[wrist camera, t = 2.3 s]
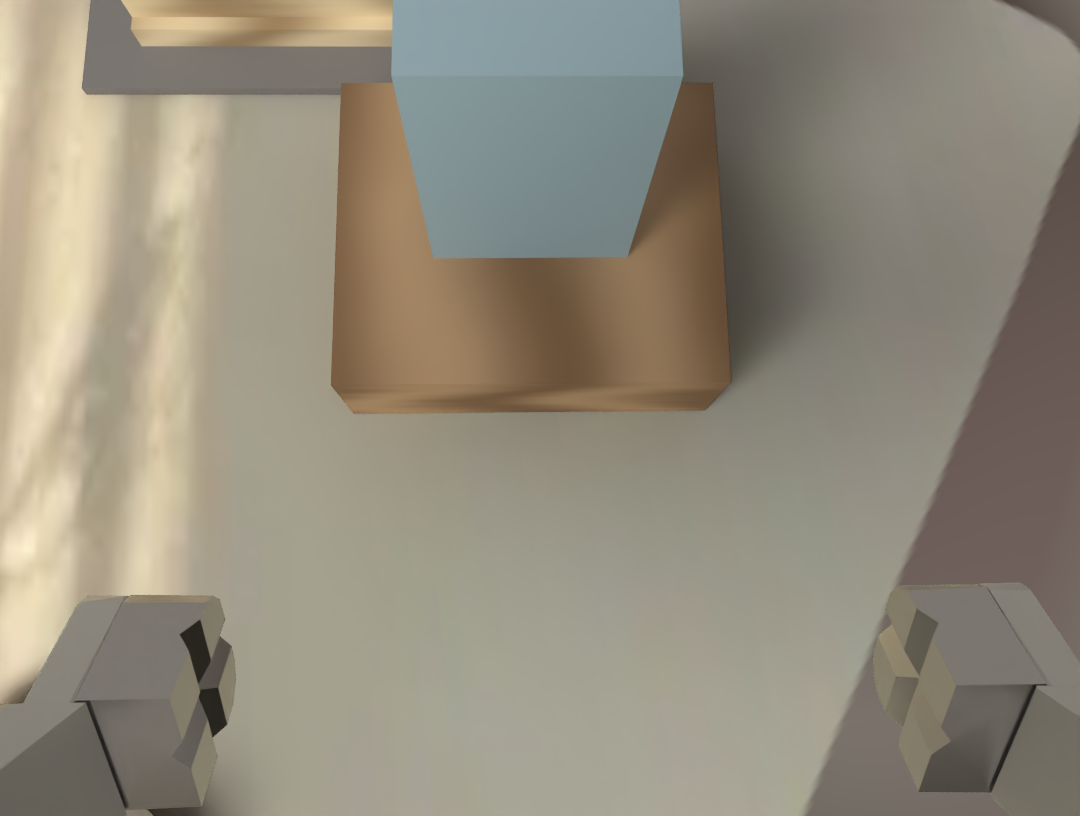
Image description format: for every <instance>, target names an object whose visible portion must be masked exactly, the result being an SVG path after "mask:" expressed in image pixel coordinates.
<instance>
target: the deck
mask: <svg viewBox="0 0 1080 816" xmlns="http://www.w3.org/2000/svg"><path fill="white" fill-rule="evenodd" d="M730 382H731V369H730V353H729V337H728V321H727V304H726V288H725V272H724V256H723V239H722V223H721V207H720V190H719V174H718V158H717V142H716V125H715V109H714V93H713V83H681V85H680V89H679V92H678V95H677V98H676V101H675V105H674V108H673V111H672V114H671V118H670V121H669V124H668V127H667V131H666V134H665V137H664V140H663V144H662V147H661V150H660V153H659V156H658V160H657V163H656V166H655V169H654V173H653V176H652V179H651V182H650V186H649V189H648V192H647V195H646V199H645V202H644V205H643V208H642V211H641V215H640V218H639V221H638V224H637V228H636V231H635V234H634V237H633V241H632V244H631V247H630V250H629V254H628V257H584V258H433V255H432V251H431V246H430V242H429V238H428V233H427V229H426V225H425V220H424V216H423V212H422V207H421V203H420V199H419V194H418V190H417V186H416V181H415V177H414V172H413V168H412V164H411V159H410V155H409V151H408V146H407V142H406V138H405V133H404V129H403V125H402V120H401V116H400V112H399V107H398V103H397V98H396V94H395V90H394V85H393V83H341V106H340V136H339V165H338V194H337V224H336V253H335V283H334V312H333V342H332V371H331V386H332V387H333V388H334V390H335V391H336V392H337V393H338V395H339V396H340V397H341V398H342V400H343V401H344V402H345V403H346V405H347V406H348V407H349V408H350V410H351V411H352V412H353V413H354V414H364V413H467V412H570V411H673V410H706V409H707V408H708V407H709V405H710V404H711V403H712V402H713V401H714V400H715V399H716V398H717V397H718V396H719V394H720V393H721V392H722V391H723V390H724V389H725V388H726V387H727V386H728V385H729V384H730Z"/></svg>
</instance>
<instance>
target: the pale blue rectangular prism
mask: <svg viewBox="0 0 1080 816" xmlns="http://www.w3.org/2000/svg"><path fill="white" fill-rule="evenodd" d="M391 77H392V81H393V85H394V90H395V94H396V98H397V103H398V107H399V112H400V116H401V120H402V125H403V129H404V133H405V138H406V142H407V146H408V151H409V155H410V159H411V164H412V168H413V172H414V177H415V181H416V186H417V190H418V194H419V199H420V203H421V207H422V212H423V216H424V220H425V225H426V229H427V233H428V238H429V242H430V246H431V251H432V255H433V258H584V257H628V254H629V250H630V247H631V244H632V241H633V237H634V234H635V231H636V228H637V224H638V221H639V218H640V215H641V211H642V208H643V205H644V202H645V199H646V195H647V192H648V189H649V186H650V182H651V179H652V176H653V173H654V169H655V166H656V163H657V160H658V156H659V153H660V150H661V147H662V144H663V140H664V137H665V134H666V131H667V127H668V124H669V121H670V118H671V114H672V111H673V108H674V105H675V101H676V98H677V95H678V92H679V89H680V85H681V82H682V79H683V59H682V40H681V21H680V3H679V0H393V17H392V65H391Z"/></svg>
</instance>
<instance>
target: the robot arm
mask: <svg viewBox="0 0 1080 816" xmlns="http://www.w3.org/2000/svg"><path fill="white" fill-rule="evenodd" d="M885 610H886V612H887V614H888V616H889V618H890V621H891V623H892V625H891V626H889V627H888V628H887V629H886V630H885V631H883V632H882V633H881V634H880V635H879V636H878V638H877V642H876V646H875V651H874V655H873V663H874V664H873V665H874V681H875V685H876V689H877V694H878V697H879V699H880V702H881V704H882V707H883V709H884V712H885V713H886V714H887V715H888V716H889V717H891V718H892V719H893V720H894V721H896V722H897V723H898V724H900V725H901V726H902V727H903V729H902V732H901V735H900V739H899V742H898V746H899V748H900V750H901V753H902V755H903V757H904V760H905V762H906V764H907V767H908V769H909V771H910V774H911V776H912V778H913V781H914V783H915V785H916V788H917V790H918V792H989V793H991V794H990V797H991V798H993V799H994V800H995V801H996V802H997V803H998V804H999V805H1000V806H1001V807H1002V808H1003V809H1004V810H1005V811H1006V812H1007V813H1008V814H1010V815H1011V816H1080V662H1079V661H1078V659H1077V658H1076V656H1075V655H1074V653H1073V652H1072V650H1071V649H1070V648H1069V646H1068V644H1067V643H1066V641H1065V640H1064V639H1063V637H1062V636H1061V634H1060V633H1059V631H1058V630H1057V628H1056V627H1055V625H1054V624H1053V622H1052V621H1051V619H1050V618H1049V617H1048V615H1047V614H1046V612H1045V611H1044V609H1043V608H1042V606H1041V605H1040V603H1039V602H1038V600H1037V599H1036V598H1035V596H1034V595H1033V593H1032V592H1031V590H1030V589H1029V588H1028V587H1026V586H1025V585H1023V584H1022V583H987V584H986V583H985V584H978V585H974V584H959V585H957V584H956V585H915V586H914V585H913V586H896V587H895V589H894V590H893V591H892V592H891V593H890V596H889V599H888V602H887V606H886V609H885ZM224 622H225V616H224V613H223V609H222V606H221V602H220V599H218V598H216V597H214V596H180V595H130V596H95V595H88V596H87V597H86V598H84V599H83V600H82V601H80V602H79V603H78V604H77V606H76V607H75V609H74V611H73V613H72V615H71V616H70V618H69V620H68V622H67V624H66V626H65V627H64V629H63V631H62V633H61V635H60V637H59V638H58V640H57V642H56V644H55V646H54V647H53V649H52V651H51V653H50V655H49V657H48V658H47V660H46V662H45V664H44V666H43V668H42V669H41V671H40V673H39V675H38V677H37V678H36V680H35V682H34V684H33V686H32V688H31V689H30V691H29V693H28V695H27V697H26V698H25V700H24V702H23V703H21V704H9V705H7V706H6V707H5V708H3V709H2V710H0V816H126V815H127V813H126V810H139V809H160V808H181V807H202V804H203V801H204V798H205V795H206V791H207V788H208V785H209V782H210V779H211V776H212V772H213V769H214V766H215V763H216V760H217V753H216V749H215V746H214V742H213V737H214V736H215V735H216V734H217V733H218V732H220V731H221V730H222V729H223V728H224V727H225V726H226V725H227V724H228V720H229V717H230V713H231V710H232V706H233V701H234V693H235V684H236V671H235V659H234V655H233V650H232V646H231V645H230V644H229V643H227V642H226V641H225V640H224V639H222V638H221V637H220V633H221V630H222V627H223V624H224Z"/></svg>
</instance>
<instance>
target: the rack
mask: <svg viewBox="0 0 1080 816" xmlns="http://www.w3.org/2000/svg"><path fill="white" fill-rule="evenodd" d="M121 1H122V2H123V4H124V6H125V7H126V9H127V10H128V12H129V13H130V15H131V16H132V21H131V31H132V32H133V34H134V35H135V37H136V38H137V40H138V41H139V43H140V44H141V46H333V47H392V17H393V0H121Z"/></svg>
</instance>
